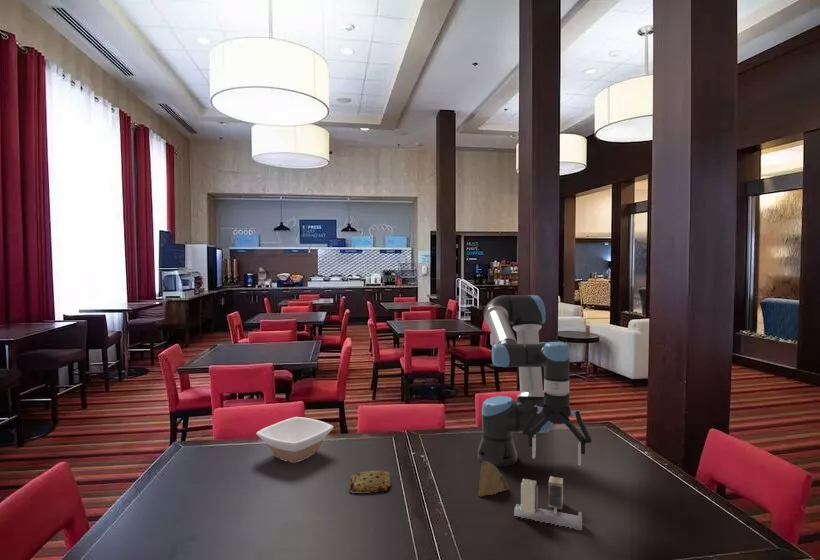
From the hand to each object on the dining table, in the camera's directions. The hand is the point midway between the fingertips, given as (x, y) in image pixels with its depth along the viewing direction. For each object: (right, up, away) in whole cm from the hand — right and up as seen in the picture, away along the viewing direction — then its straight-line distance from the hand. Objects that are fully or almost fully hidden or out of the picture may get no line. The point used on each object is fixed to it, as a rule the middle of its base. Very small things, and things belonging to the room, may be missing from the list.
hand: (556, 460), depth 143 cm
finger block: (0, -14, +1) cm, 15 cm away
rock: (-18, -15, +10) cm, 25 cm away
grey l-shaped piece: (-5, -15, -8) cm, 18 cm away
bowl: (-91, -14, +40) cm, 100 cm away
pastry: (-60, -15, +16) cm, 64 cm away
